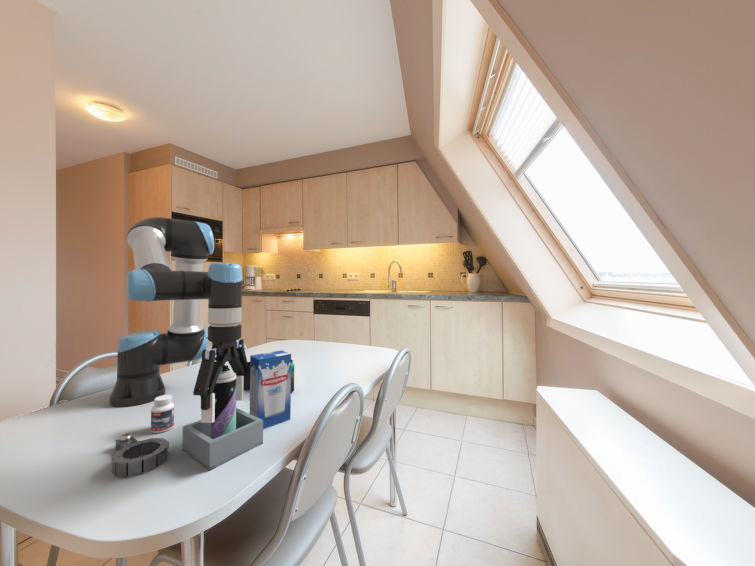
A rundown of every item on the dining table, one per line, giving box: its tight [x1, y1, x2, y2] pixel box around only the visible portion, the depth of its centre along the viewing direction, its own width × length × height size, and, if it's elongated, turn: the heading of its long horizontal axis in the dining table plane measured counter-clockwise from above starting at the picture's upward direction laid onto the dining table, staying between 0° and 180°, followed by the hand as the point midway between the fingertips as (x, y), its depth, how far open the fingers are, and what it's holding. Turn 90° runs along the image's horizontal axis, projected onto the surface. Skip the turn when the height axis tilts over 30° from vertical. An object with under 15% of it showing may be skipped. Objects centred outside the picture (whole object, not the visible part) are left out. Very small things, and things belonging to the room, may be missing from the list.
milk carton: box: [249, 349, 292, 430], centre depth 86 cm, size 10×6×20 cm, turn 135°
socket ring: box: [111, 433, 170, 479], centre depth 68 cm, size 17×10×3 cm, turn 56°
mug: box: [242, 361, 250, 391], centre depth 113 cm, size 9×12×9 cm
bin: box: [182, 407, 264, 471], centre depth 72 cm, size 13×13×6 cm
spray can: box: [211, 364, 237, 439], centre depth 72 cm, size 6×6×20 cm
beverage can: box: [291, 359, 295, 394], centre depth 108 cm, size 7×7×12 cm
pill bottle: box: [150, 394, 175, 434], centre depth 81 cm, size 5×5×9 cm
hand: (224, 410), depth 72 cm, fingers open, 12 cm apart
